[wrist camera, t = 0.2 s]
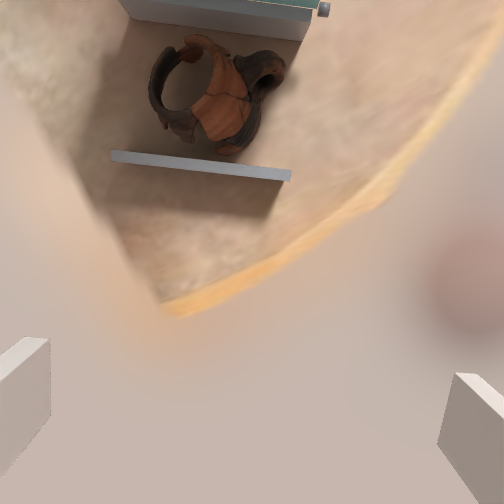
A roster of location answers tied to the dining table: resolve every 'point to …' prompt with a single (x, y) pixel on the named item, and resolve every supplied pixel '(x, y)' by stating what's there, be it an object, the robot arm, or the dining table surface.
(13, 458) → the robot arm
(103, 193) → the dining table surface
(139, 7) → the channel
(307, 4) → the cover
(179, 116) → the brown ring with stub
